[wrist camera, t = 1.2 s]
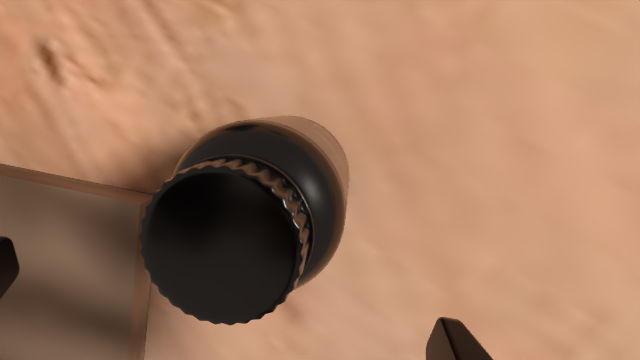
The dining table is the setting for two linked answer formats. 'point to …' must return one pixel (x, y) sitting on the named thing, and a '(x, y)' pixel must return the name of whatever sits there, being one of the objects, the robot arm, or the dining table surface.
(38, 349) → the walnut board
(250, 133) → the supplement bottle
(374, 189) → the dining table surface
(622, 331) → the dining table surface
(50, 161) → the dining table surface
